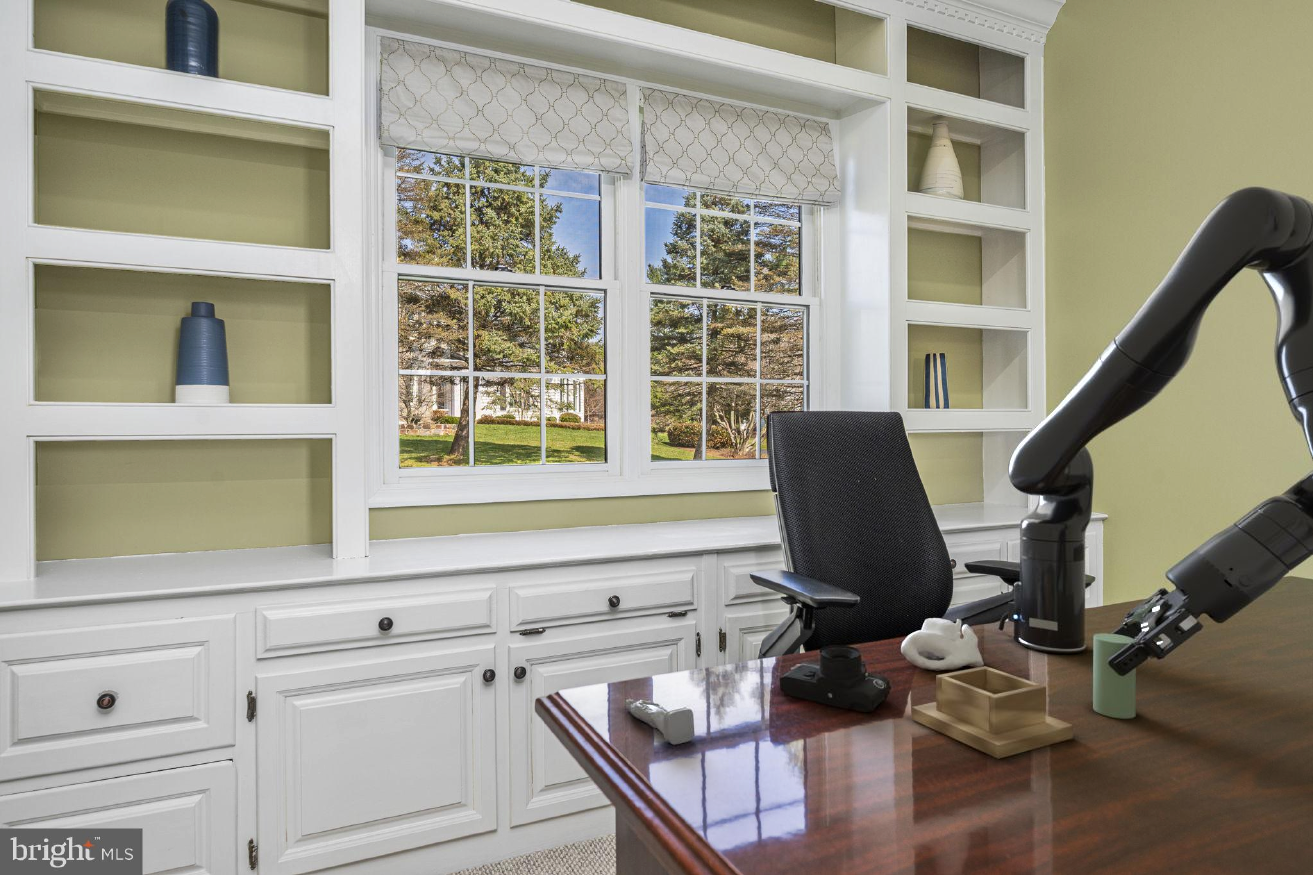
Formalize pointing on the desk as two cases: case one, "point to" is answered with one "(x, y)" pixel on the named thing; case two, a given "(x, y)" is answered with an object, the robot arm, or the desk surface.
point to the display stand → (992, 712)
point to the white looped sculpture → (942, 646)
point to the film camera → (837, 680)
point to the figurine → (665, 720)
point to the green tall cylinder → (1112, 679)
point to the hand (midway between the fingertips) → (1109, 659)
